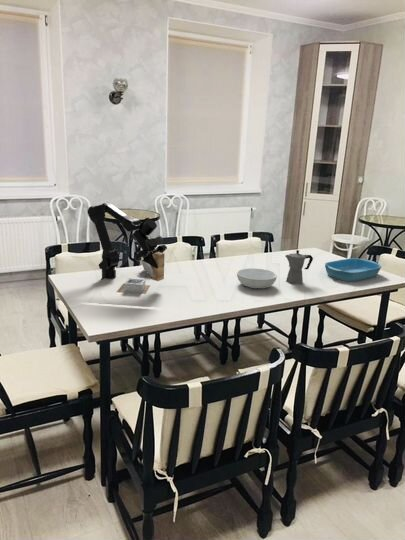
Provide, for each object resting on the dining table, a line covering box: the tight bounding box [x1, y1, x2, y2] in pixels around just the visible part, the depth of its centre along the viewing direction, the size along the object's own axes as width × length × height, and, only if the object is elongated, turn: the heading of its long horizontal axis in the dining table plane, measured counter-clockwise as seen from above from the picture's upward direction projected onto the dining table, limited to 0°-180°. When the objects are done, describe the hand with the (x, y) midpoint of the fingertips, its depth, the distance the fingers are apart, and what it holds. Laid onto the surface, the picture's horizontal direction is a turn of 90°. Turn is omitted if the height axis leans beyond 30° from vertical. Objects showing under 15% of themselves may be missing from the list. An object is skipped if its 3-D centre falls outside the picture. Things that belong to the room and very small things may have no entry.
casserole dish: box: [324, 257, 382, 282], centre depth 262 cm, size 37×22×7 cm, turn 125°
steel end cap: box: [123, 278, 146, 295], centre depth 215 cm, size 8×8×4 cm
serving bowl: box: [236, 267, 278, 289], centre depth 234 cm, size 21×21×7 cm
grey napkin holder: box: [140, 259, 153, 278], centre depth 245 cm, size 17×5×10 cm, turn 25°
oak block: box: [151, 252, 165, 282], centre depth 214 cm, size 4×4×13 cm
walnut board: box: [116, 283, 151, 295], centre depth 218 cm, size 14×13×1 cm
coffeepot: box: [285, 249, 314, 285], centre depth 243 cm, size 15×9×18 cm, turn 92°
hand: (160, 266), depth 213 cm, fingers closed on oak block, 4 cm apart
